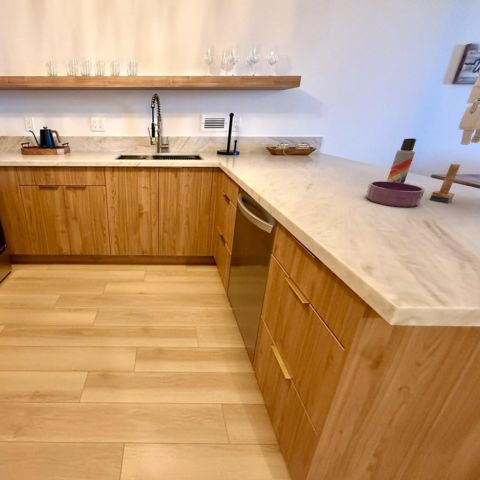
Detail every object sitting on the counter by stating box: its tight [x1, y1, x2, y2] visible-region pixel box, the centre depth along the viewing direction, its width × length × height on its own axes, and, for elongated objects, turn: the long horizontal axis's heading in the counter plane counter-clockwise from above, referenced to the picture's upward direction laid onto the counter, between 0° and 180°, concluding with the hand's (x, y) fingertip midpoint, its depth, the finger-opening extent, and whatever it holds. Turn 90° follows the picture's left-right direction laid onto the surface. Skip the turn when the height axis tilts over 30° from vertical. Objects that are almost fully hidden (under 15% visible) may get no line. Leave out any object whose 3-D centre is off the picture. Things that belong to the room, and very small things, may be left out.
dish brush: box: [429, 163, 461, 204], centre depth 101 cm, size 5×4×13 cm
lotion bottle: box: [386, 137, 417, 183], centre depth 115 cm, size 6×6×20 cm
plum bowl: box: [365, 180, 425, 208], centre depth 102 cm, size 15×15×6 cm
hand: (469, 143), depth 95 cm, fingers open, 8 cm apart
